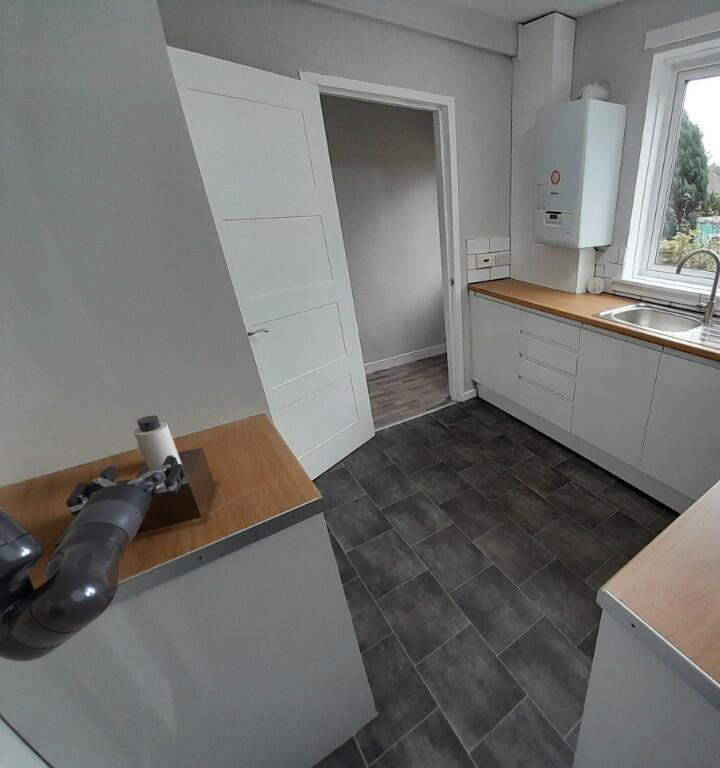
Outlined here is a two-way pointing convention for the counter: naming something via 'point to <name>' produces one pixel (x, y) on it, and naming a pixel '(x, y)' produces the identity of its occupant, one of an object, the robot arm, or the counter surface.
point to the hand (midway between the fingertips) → (143, 464)
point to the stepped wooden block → (177, 495)
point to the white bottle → (155, 442)
